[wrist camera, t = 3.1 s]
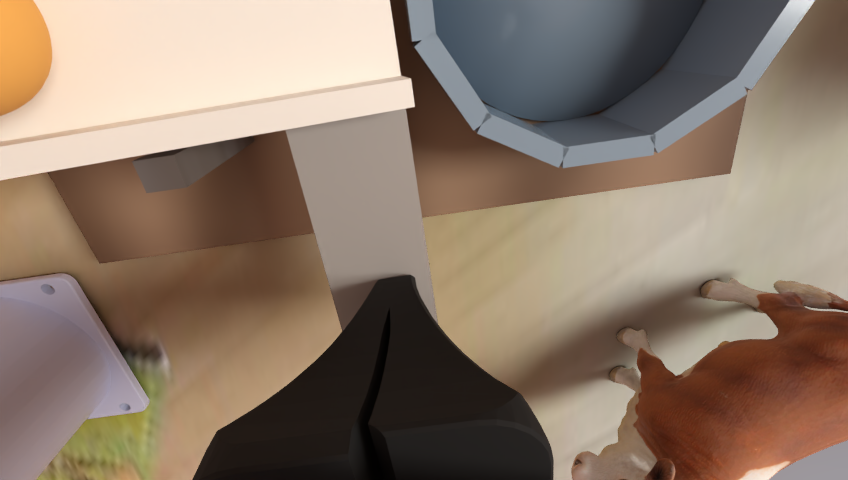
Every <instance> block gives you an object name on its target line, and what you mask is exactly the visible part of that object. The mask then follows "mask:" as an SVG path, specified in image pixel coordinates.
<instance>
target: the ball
mask: <svg viewBox="0 0 848 480" xmlns="http://www.w3.org/2000/svg"><path fill="white" fill-rule="evenodd" d="M51 63H52V46H51V39H50V35H49V31H48V28H47V25H46V23H45V20H44V18H43V16H42V14H41V12H40V10H39V9H38V7H37V5H36V4H35V2H34V1H33V0H0V116H2V115H5V114H7V113H9V112H12V111H14V110H16V109H18V108H20V107H21V106H23V105H24V104H26V103H27V102H29V101H30V100H31V99H32V98H33V97H34V96H35V95H36V94H37V93H38V92H39V91H40V90H41V88H42V87H43V85H44V83H45V81H46V79H47V77H48V75H49V72H50V68H51Z"/></svg>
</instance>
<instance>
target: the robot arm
mask: <svg viewBox="0 0 848 480" xmlns="http://www.w3.org/2000/svg"><path fill="white" fill-rule="evenodd" d="M49 285H50V286H52V287H53V288H54V289H53V288H51V287H50V286H49ZM149 402H150V401H149V398H148V397H147V395H146V394H145V392H144V390H143V389H142V387H141V385H140V384H139V382H138V380H137V379H136V377H135V376H134V374H133V372H132V371H131V369H130V367H129V366H128V364H127V363H126V361H125V359H124V358H123V356H122V354H121V353H120V351H119V349H118V348H117V346H116V345H115V343H114V341H113V340H112V338H111V336H110V335H109V333H108V331H107V330H106V328H105V327H104V325H103V323H102V322H101V320H100V318H99V317H98V315H97V313H96V312H95V310H94V309H93V307H92V305H91V304H90V302H89V300H88V299H87V297H86V295H85V294H84V292H83V291H82V289H81V287H80V286H79V284H78V282H77V281H76V280H75V279H74V278H73V277H72V276H70V275H67V274H64V273H58V274H51V275H44V276H37V277H30V278H23V279H16V280H9V281H2V282H0V480H36V479H37V478H38V477H39V475H40V474H41V473H42V472H43V471H44V469H45V468H46V467H47V466H48V465H49V463H50V462H51V461H52V460H53V459H54V457H55V456H56V455H57V454H58V453H59V451H60V450H61V449H62V448H63V447H64V445H65V444H66V443H67V442H68V441H69V439H70V438H71V437H72V436H73V435H74V433H75V432H76V431H77V430H78V429H79V427H80V426H81V425H82V424H83V423H84V421H85V420H86V419H91V418H99V417H106V416H113V415H121V414H128V413H135V412H141V411H144V410H145V409H146V407H147V406H148V405H149ZM193 480H553V455H552V450H551V447H550V444H549V441H548V439H547V437H546V435H545V433H544V431H543V429H542V427H541V425H540V423H539V421H538V420H537V418H536V416H535V415H534V413H533V412H532V410H531V408H530V407H529V405H528V404H527V402H526V401H525V399H524V398H523V396H522V395H521V394H520V393H518V392H517V391H515V390H513V389H512V388H510V387H508V386H507V385H505V384H503V383H502V382H500V381H498V380H497V379H495V378H494V377H492V376H491V375H490V374H488V373H487V372H485V371H484V370H483V369H482V368H480V367H479V366H478V365H477V364H476V363H474V362H473V361H472V360H471V359H470V358H469V357H467V356H466V355H465V354H464V353H463V352H462V351H461V350H460V349H459V348H458V347H457V346H456V345H455V344H454V343H453V342H452V341H451V340H450V339H449V337H448V336H447V335H446V334H445V333H444V332H443V330H442V329H441V328H440V327H439V325H438V324H437V322H436V321H435V320H434V318H433V317H432V315H431V314H430V312H429V310H428V309H427V307H426V305H425V304H424V302H423V300H422V298H421V296H420V294H419V292H418V289H417V286H416V280H415V277H414V276H412V275H405V276H398V277H391V278H386V279H380V280H378V281H377V282H376V283H375V285H374V286H373V288H372V290H371V291H370V293H369V295H368V296H367V298H366V299H365V301H364V302H363V304H362V305H361V307H360V308H359V310H358V311H357V313H356V314H355V316H354V317H353V318H352V320H351V321H350V322H349V324H348V325H347V326H346V328H345V329H344V330H343V331H342V333H341V334H340V335H339V336H338V338H337V339H336V340H335V341H334V342H333V343H332V345H331V346H330V347H329V348H328V349H327V350H326V351H325V352H324V353H323V354H322V355H321V356H320V357H319V358H318V359H317V360H316V361H315V362H314V363H313V364H311V365H310V366H309V367H308V368H307V369H306V370H304V371H303V372H302V373H301V374H300V375H299V376H298V377H296V378H295V379H294V380H293V381H292V382H290V383H289V384H288V385H287V386H285V387H284V388H283V389H281V390H280V391H279V392H277V393H276V394H275V395H273V396H272V397H270V398H269V399H268V400H266V401H265V402H263V403H262V404H260V405H259V406H257V407H256V408H254V409H253V410H251V411H250V412H248V413H246V414H245V415H243V416H241V417H240V418H238V419H236V420H235V421H233V422H232V423H230V424H228V425H227V426H225V427H223V428H222V429H220V430H218V431H217V432H216V434H215V436H214V438H213V439H212V441H211V443H210V445H209V447H208V448H207V450H206V452H205V454H204V456H203V459H202V461H201V463H200V465H199V467H198V469H197V471H196V473H195V475H194V478H193Z"/></svg>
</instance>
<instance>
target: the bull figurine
mask: <svg viewBox="0 0 848 480" xmlns="http://www.w3.org/2000/svg"><path fill="white" fill-rule="evenodd" d="M774 288H775V289H776V290H777V291H778V292H779V293H780V294H775V293H768V292H762V291H757V290H754V289H751V288H748V287H746V286H744V285H742V284H740V283H739V282H738V281H737V280H735V279H732V278H731V279H730V281H729V282H728V283H724V282H719V281H717V280H710V281H709V282H707V283H705V284H704V285H703V286H702V288H701V296H702V297H703V298H708V299H714V300H717V301H735V302H740V303H745V304H748V305H751V306H753V307H755V309H756V310H757V312H760V313H766V314H767V315H768V316H769V317H770V319H771V320H772V321H773V323H774V324H775V325H776V327H777V328H778V335H777V336H776V337H775V338H773V339H768V340H764V339H748V340H738V341H733V342H728V341H724V342H722V343H720V344H719V345H718V347H717V348H715V349H714V350H712V351H711V352H710V353H708V354H707V355H706V356H705V357H703V358H702V359H701V360H700V361H698V362H697V363H696V364H695V365H693V366H692V367H691V368H689V369H687V370H686V371H684V372H683V373H682V374H680V375H677V376H675V375H674V374H673V373H672V372H670V371H669V370H668V369H666V367H665V366H664V364H663V362H662V361H661V360H660V359H659V358H658V357H657V356H656V355H655V354H654V353H653V352H652V350H651V348H650V345H649V342H648V340H647V333H646V332H645V331H644V330H643V329H641V330H639V331H635V330H633V329H632V328H630V327H627V328H624V329H622V330H620V331H619V332H618V334H617V339H618V341H620V342H621V343H623V344H625V345H627V346H629V347H632V348H633V349H634V350H635V351H636V352H637V354H638V359H637V366H638V369H639V371H640V372H641V378H640V377H639V375H638V373H637V371H636V369H635V368H633V367H632V368H631V369H625V368H624V367H616V368H614V369H613V370H612V371H611V372H610V375H609V377H610V379H611V380H612V381H613V382H616V383H620V384H624V385H626V386H628V387H629V388H631V389H633V390H634V391H635V395H634V396H633V397H632V398H631V400H630V401H629V402H628V405H627V412H626V415H625V416H624V418H623V419H622V421H621V425H620V426H619V428H618V442H617V443H615V444H611V445H608V446H606V447H605V448H604V449H603V450H602V452H601V453H600V454H599V456H597V455H595V454H593V453H592V452H588V451H586V452H581V453H580V454H578V455H577V456H576V458H575V460H574V463H573V466H572V471H571V473H572V478H573V480H769V479H770V478H771V477H772V476H773V475H775V474H776V473H777V472H779V471H780V470H782V469H784V468H785V467H787V466H789V465H791V464H792V463H794V462H796V461H798V460H800V459H802V458H804V457H807V456H809V455H811V454H814V453H816V452H818V451H821V450H823V449H825V448H828V447H830V446H833V445H835V444H838V443H841V442H844V441H847V440H848V313H844V312H833V311H814V310H810V309H807V308H805V307H804V306H807V307H811V308H817V309H838V310H843V311H848V301H846V300H844V299H842V298H840V297H838V296H837V295H834V294H832V293H830V292H828V291H825V290H823V289H820V288H817V287H814V286H811V285H806V284H801V283H798V282H795V281H781V280H780V281H777V282H775V283H774Z"/></svg>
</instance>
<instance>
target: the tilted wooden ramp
mask: <svg viewBox="0 0 848 480" xmlns="http://www.w3.org/2000/svg"><path fill="white" fill-rule="evenodd" d="M33 1H34V2H35V4H36V5H37V7H38V9H39V10H40V12H41V14H42V16H43V18H44V20H45V23H46V25H47V28H48V31H49V35H50V39H51V46H52V63H51V68H50V72H49V75H48V77H47V79H46V81H45V83H44V85H43V87H42V88H41V90H40V91H39V92H38V93H37V94H36V95H35V96H34V97H33V98H32V99H31V100H30V101H29V102H27V103H26V104H24V105H23V106H21V107H20V108H18V109H16V110H14V111H12V112H9V113H7V114H5V115H2V116H0V180H5V179H11V178H16V177H22V176H28V175H33V174H39V173H44V172H50V171H56V170H61V169H67V168H73V167H78V166H84V165H90V164H95V163H101V162H107V161H112V160H118V159H123V158H129V157H135V156H140V155H146V154H152V153H157V152H163V151H169V150H174V149H180V148H186V147H191V146H197V145H202V144H208V143H214V142H219V141H225V140H231V139H236V138H242V137H248V136H253V135H259V134H265V133H270V132H276V131H281V130H286V134H287V138H288V141H289V145H290V148H291V152H292V155H293V159H294V162H295V166H296V169H297V173H298V176H299V180H300V183H301V187H302V190H303V194H304V197H305V201H306V205H307V208H308V212H309V215H310V219H311V222H312V226H313V229H314V233H315V236H316V240H317V243H318V247H319V250H320V254H321V257H322V261H323V264H324V268H325V272H326V275H327V279H328V282H329V286H330V289H331V293H332V296H333V300H334V303H335V307H336V310H337V314H338V317H339V321H340V324H341V328H342V331H343V330H344V329H345V328H346V326H347V325H348V324H349V322H350V321H351V320H352V318H353V317H354V316H355V314H356V313H357V311H358V310H359V308H360V307H361V305H362V304H363V302H364V301H365V299H366V298H367V296H368V295H369V293H370V291H371V290H372V288H373V286H374V285H375V283H376V282H377V281H378V280H380V279H386V278H391V277H398V276H405V275H412V276H414V277H415V280H416V286H417V289H418V292H419V294H420V296H421V298H422V300H423V302H424V304H425V305H426V307H427V309H428V310H429V312H430V314H431V315H432V317H433V318H434V320H435V321H436V322H437V324H438V321H437V314H436V308H435V301H434V294H433V288H432V281H431V274H430V267H429V261H428V254H427V247H426V241H425V234H424V227H423V220H422V214H421V207H420V200H419V194H418V187H417V180H416V173H415V167H414V160H413V153H412V146H411V140H410V133H409V126H408V120H407V113H406V108H411V107H415V103H414V96H413V89H412V82H411V78H408V77H404V76H401V73H400V66H399V59H398V52H397V46H396V39H395V32H394V26H393V19H392V12H391V5H390V0H33Z"/></svg>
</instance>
